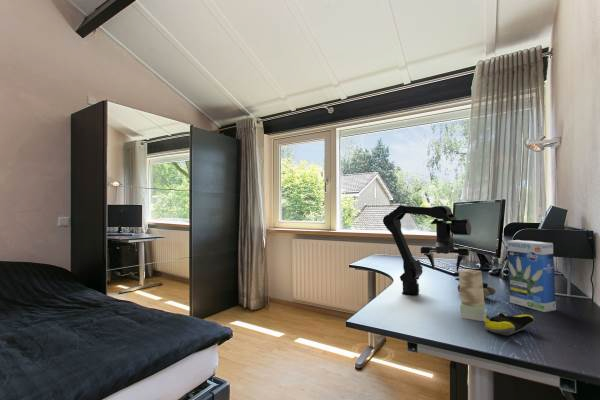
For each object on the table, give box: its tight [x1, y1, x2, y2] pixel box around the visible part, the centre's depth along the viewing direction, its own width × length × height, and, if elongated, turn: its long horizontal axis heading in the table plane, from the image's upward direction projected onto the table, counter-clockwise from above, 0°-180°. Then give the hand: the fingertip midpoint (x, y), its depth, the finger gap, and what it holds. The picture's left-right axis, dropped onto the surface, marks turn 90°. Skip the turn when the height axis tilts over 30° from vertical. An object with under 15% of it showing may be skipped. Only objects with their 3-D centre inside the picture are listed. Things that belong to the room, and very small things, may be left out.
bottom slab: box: [459, 308, 488, 322], centre depth 108 cm, size 8×8×2 cm
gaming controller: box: [483, 312, 535, 336], centre depth 94 cm, size 15×6×10 cm
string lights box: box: [506, 239, 557, 313], centre depth 117 cm, size 13×8×26 cm, turn 21°
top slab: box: [459, 302, 486, 316], centre depth 108 cm, size 7×7×2 cm
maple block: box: [458, 268, 485, 307], centre depth 108 cm, size 6×6×12 cm
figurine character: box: [454, 277, 497, 301], centre depth 131 cm, size 7×8×15 cm
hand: (445, 270), depth 127 cm, fingers open, 9 cm apart
